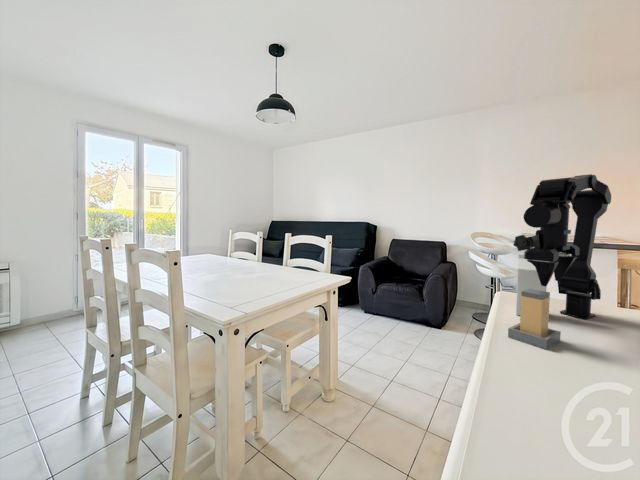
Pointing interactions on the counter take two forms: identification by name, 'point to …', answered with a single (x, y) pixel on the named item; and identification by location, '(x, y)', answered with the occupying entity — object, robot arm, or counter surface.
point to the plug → (535, 312)
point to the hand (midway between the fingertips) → (551, 283)
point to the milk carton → (526, 280)
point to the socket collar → (534, 337)
